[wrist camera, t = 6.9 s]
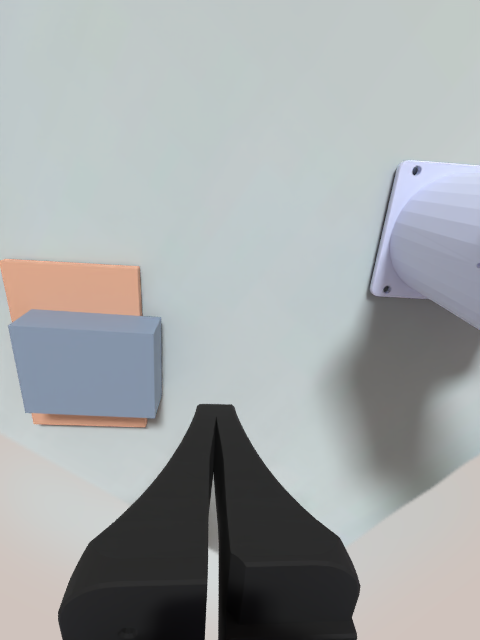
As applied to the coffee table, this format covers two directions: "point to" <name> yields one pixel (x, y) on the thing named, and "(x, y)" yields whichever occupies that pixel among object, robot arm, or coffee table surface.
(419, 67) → the coffee table surface
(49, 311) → the slab
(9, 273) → the mat
